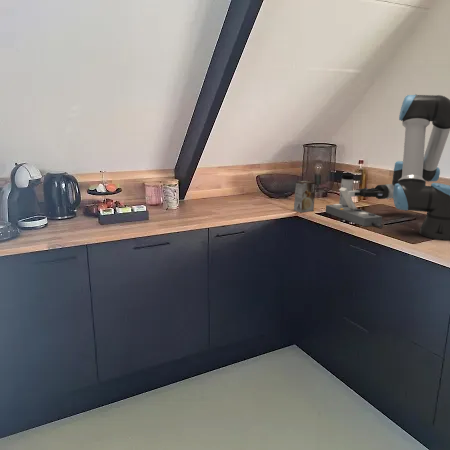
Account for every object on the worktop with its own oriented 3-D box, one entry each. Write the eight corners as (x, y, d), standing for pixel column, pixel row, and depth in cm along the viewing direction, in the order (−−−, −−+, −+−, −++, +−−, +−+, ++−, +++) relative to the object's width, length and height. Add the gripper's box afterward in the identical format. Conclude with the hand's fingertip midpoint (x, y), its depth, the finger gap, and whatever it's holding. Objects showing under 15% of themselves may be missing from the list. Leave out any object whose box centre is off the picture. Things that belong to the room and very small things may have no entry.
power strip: (390, 227, 203) (391, 217, 201) (372, 229, 198) (373, 218, 197) (341, 211, 234) (342, 201, 233) (325, 212, 230) (326, 203, 229)
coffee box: (305, 208, 237) (308, 180, 233) (313, 211, 232) (316, 182, 228) (293, 210, 232) (295, 181, 228) (301, 212, 227) (303, 183, 223)
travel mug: (349, 206, 246) (353, 172, 240) (350, 209, 240) (354, 174, 234) (338, 205, 247) (342, 171, 242) (338, 208, 241) (342, 173, 236)
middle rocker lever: (357, 209, 216) (346, 188, 210) (354, 211, 216) (344, 191, 210) (352, 207, 220) (341, 187, 214) (349, 209, 219) (338, 189, 213)
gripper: (392, 201, 219) (356, 203, 210) (374, 196, 230) (339, 198, 221) (394, 186, 217) (357, 189, 208) (376, 182, 228) (341, 184, 219)
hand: (348, 193), depth 215 cm, fingers closed
